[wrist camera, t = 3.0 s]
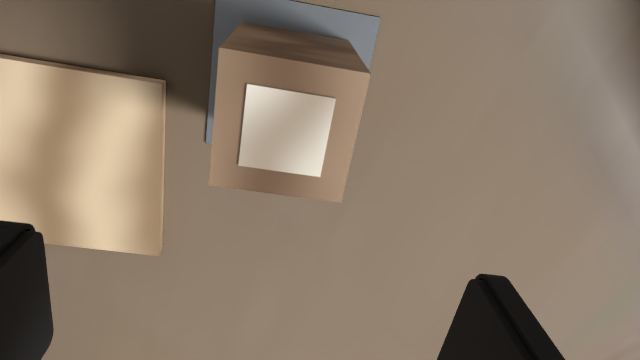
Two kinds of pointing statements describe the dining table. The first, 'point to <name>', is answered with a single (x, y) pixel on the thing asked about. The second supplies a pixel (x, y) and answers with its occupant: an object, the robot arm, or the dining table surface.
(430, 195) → the dining table surface
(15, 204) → the cork pad
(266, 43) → the walnut block
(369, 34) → the tile
